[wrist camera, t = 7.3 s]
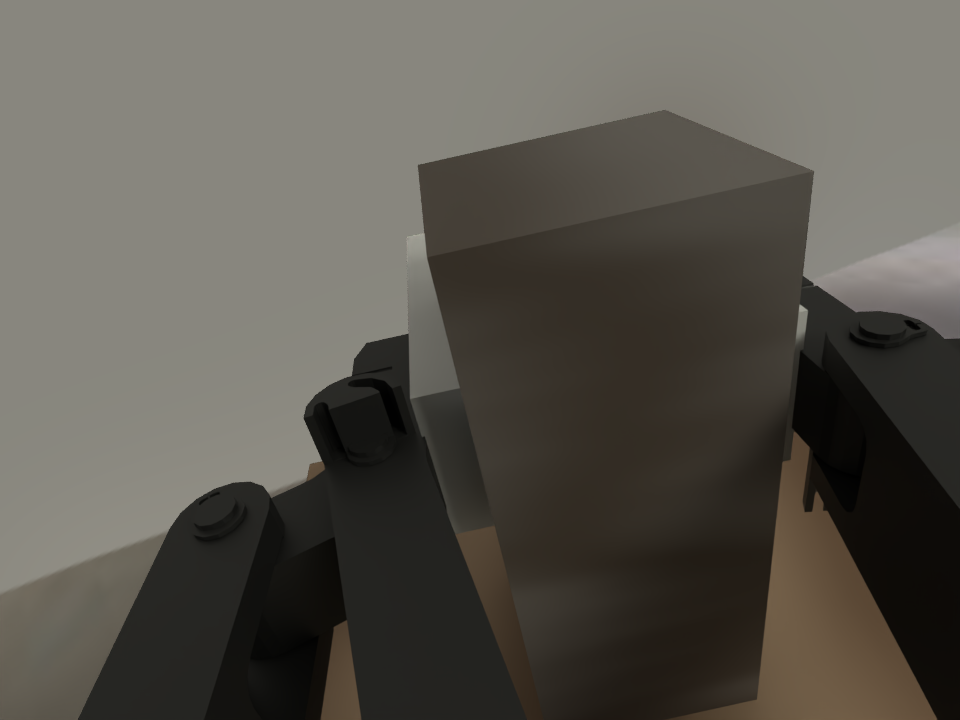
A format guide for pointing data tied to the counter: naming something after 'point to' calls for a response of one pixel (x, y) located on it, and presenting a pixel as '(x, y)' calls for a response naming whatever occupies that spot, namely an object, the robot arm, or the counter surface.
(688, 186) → the board with upright post
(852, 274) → the counter surface
